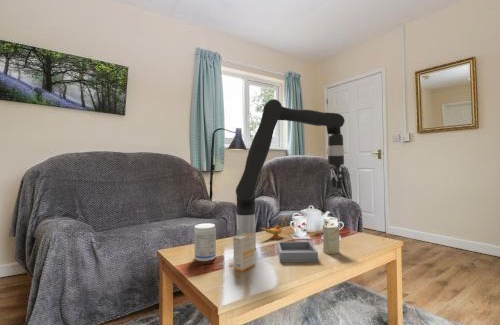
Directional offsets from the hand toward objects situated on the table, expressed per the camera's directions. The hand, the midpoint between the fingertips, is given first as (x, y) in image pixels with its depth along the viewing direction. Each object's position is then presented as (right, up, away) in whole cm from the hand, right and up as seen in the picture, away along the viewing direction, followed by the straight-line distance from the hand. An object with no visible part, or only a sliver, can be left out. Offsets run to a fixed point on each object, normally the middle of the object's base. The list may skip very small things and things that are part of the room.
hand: (336, 187), depth 133 cm
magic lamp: (-29, -30, +19) cm, 46 cm away
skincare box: (-5, -30, -7) cm, 31 cm away
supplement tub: (-63, -31, -12) cm, 71 cm away
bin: (-22, -30, -11) cm, 38 cm away
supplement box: (-45, -30, -23) cm, 59 cm away
